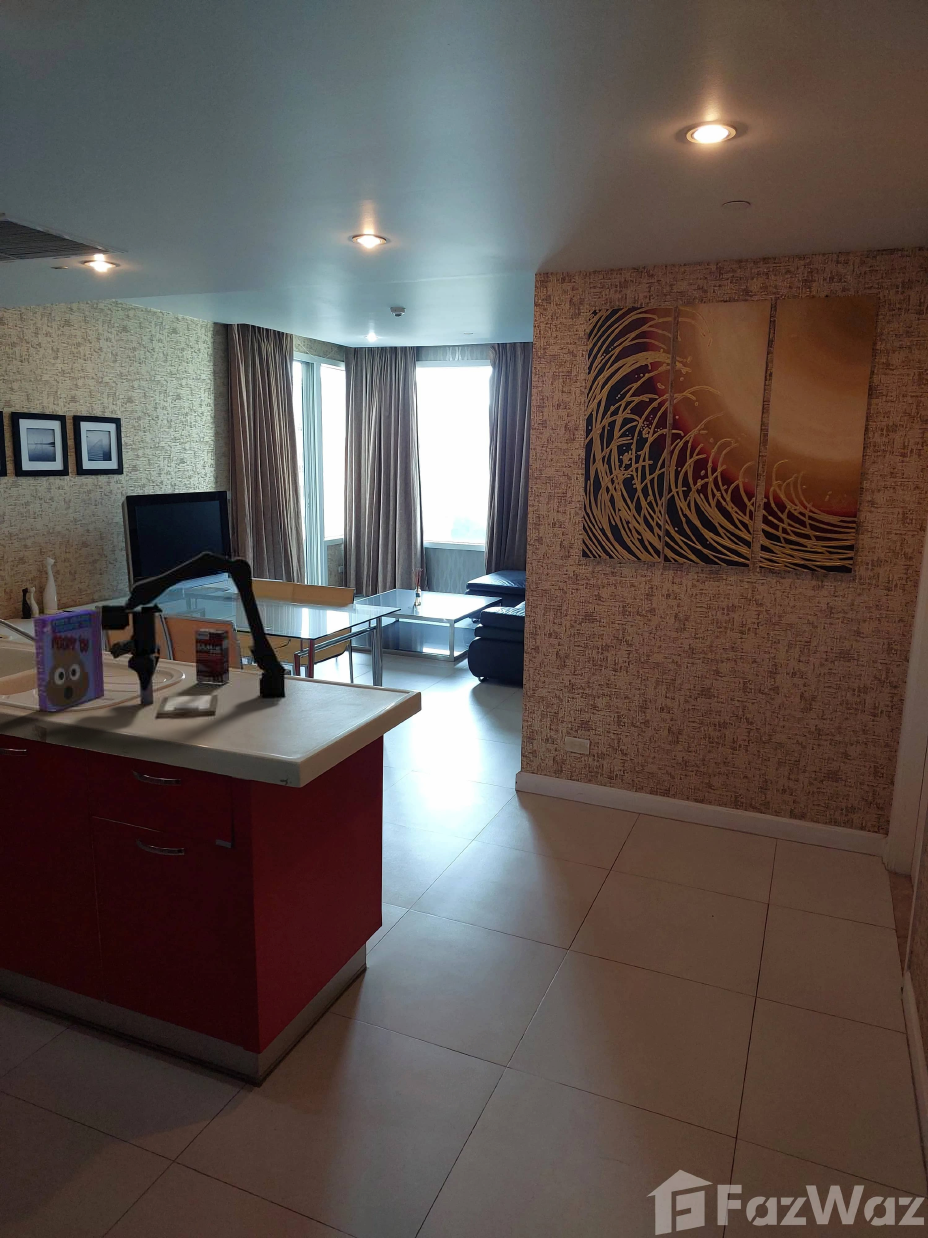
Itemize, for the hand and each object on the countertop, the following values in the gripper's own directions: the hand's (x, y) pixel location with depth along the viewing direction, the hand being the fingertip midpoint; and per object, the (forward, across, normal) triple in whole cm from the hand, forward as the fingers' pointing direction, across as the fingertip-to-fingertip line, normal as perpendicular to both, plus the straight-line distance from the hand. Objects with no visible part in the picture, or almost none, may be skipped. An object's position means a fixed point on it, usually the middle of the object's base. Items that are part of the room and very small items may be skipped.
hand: (146, 687), depth 214 cm
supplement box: (+5, -21, +16) cm, 27 cm away
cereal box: (+5, -4, -19) cm, 20 cm away
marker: (+4, 0, 0) cm, 4 cm away
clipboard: (+4, +6, +11) cm, 13 cm away
